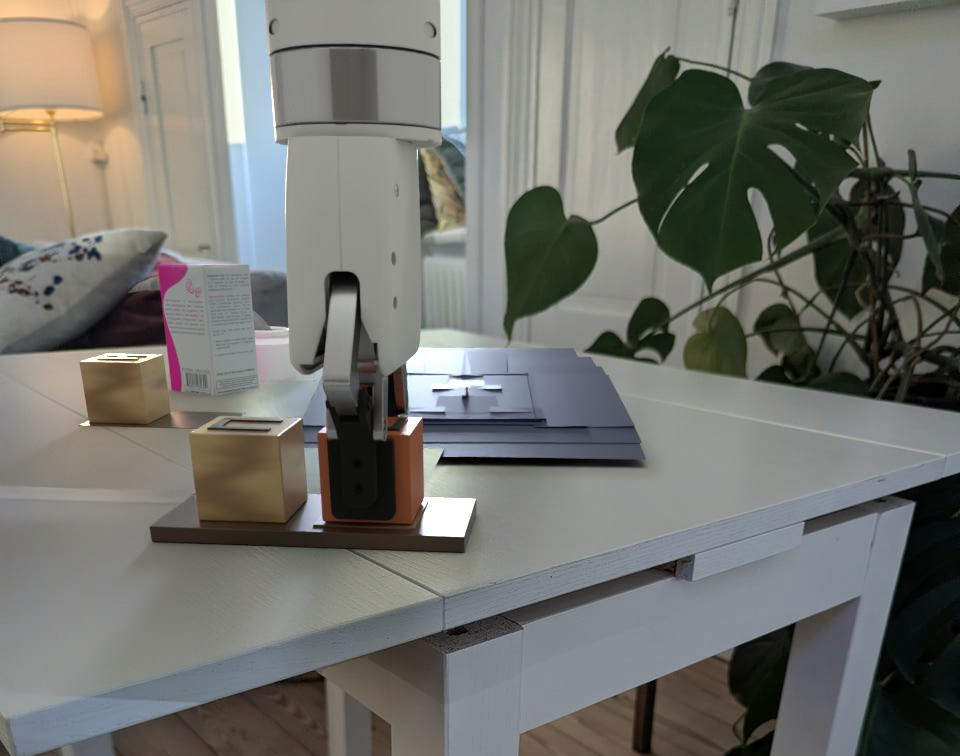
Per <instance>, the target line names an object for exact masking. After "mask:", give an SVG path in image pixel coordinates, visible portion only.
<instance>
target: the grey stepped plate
mask: <svg viewBox="0 0 960 756" xmlns="http://www.w3.org/2000/svg"><path fill="white" fill-rule="evenodd" d="M406 369H407V384H408V399H409V410H408V415H407V416H398V417H422V418H423V449H443V450H442V452H441V454H440V458H460V457H461V458H462V457H463V458H465V457H467V458H469V457H470V458H474V457H477V458H527V459H528V458H532V459H533V458H534V459H584V460H585V459H586V460H587V459H588V460H589V459H591V460H642V461H643V460H647V458H646V455H645V453H644V450H643V447H642V445H641V444H642V440H641V438H640V436H639V434H638V431H637V429H636V425H635V423H634V422H633V420H632V417H631V415H630V414H629V411H628V410H627V408H626V406H625V404H624V402H623V400H622V399H621V396H620V395H619V393H618V391H617V389H616V387H615V385H614V383H613V381H612V380H611V378H610V376H609V374H607V373H606V372H605V370H604V368H603V366H602V365H601V366H600V365H599V366H597V364H596V363H595V361H594V359H593V358H592V357H591V356H578V354H577V353H576V350H575V348H574V347H419V348H418V351H417V352H416V353H415V354H414V355H413V356H412V357H411V358H410V359H409V360H408V361H407V362H406ZM325 401H326V394H325V392H324V389H323V384H322V376H321V378H320V379H319V382H318V384H317V386H316V388H315V390H314V393H313V395H312V397H311V399H310V401H309V404H308V406H307V408H306V410H305V412H304V415H303V417H302V422H303V436H304V449H318V440H317V433H318V432H319V431H320V430H321V429H323V428H324V427H325V426H326V402H325Z"/></svg>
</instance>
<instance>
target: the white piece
mask: <svg viewBox="0 0 960 756" xmlns="http://www.w3.org/2000/svg"><path fill="white" fill-rule="evenodd" d="M142 291H160V282H159V275H157V276H153V277H150V278H147V279H145V280H143V281H140V282H138V283H137V284H135V285H134V286H133V287H132V288H131V289H130V290H129V291H128V294H132V293H137V292H142ZM253 319H254V332H255V344H256V356H257V368H258V381H259V382H271V381H272V382H275V381H277V382H278V381H291V382H294V381H295V382H316V381H317V376H316V372H314V373H312V374H310V375H302V374H300V373H299V372H298V371H297V370H296V369H295V368H294V367H293V366H292V364H291V361H290V352H289V331H288V327H285V326H272V325H271V326H270V325H269V324H267V322H266V321H265V320H264V319H263V317H262V316H261V315H259V313H257V312H256V311H255V310H253Z"/></svg>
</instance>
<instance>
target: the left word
mask: <svg viewBox="0 0 960 756" xmlns="http://www.w3.org/2000/svg"><path fill="white" fill-rule="evenodd" d="M78 364H79V369H80V373H81V374H80V375H81V382H82V388H83V394H84V401H85V406H86V412H87V419H88V420H87V421H85V422H83V423H80V424H78V427H105V428H106V427H109V428H110V427H111V428H112V427H113V428H119V427H120V428H147V429H148V428H149V429H183V430H184V429H185V430H189V429H190V430H196V429H198V428H200V427H201V426H203V425H205V424H207V423H208V422H210V421H212V420H214V419H215V418H217V417H219V416H239V417H243V416H244V415H246V412H234V411H233V412H232V411H231V412H230V411H229V412H228V411H190V410H189V411H188V410H186V411H185V410H171V405H170V404H171V403H170V397H169V389H168V381H167V371H166V365H165V364H166V363H165V357H164V354H155V353H154V354H153V353H152V354H149V353H148V354H147V353H104V354H101V355H97V356H94V357H91V358H87V359H82V360H80V361H79V363H78Z"/></svg>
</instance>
